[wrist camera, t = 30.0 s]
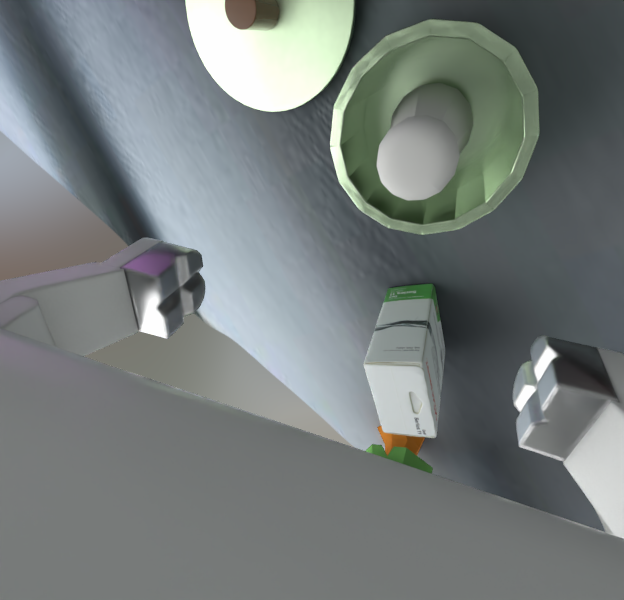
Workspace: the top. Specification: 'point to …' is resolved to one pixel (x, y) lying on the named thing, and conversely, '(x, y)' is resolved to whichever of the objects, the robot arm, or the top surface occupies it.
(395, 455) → the decorative tree
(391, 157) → the salt shaker
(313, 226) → the top surface
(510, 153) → the bowl
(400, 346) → the ink box
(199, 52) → the lid
